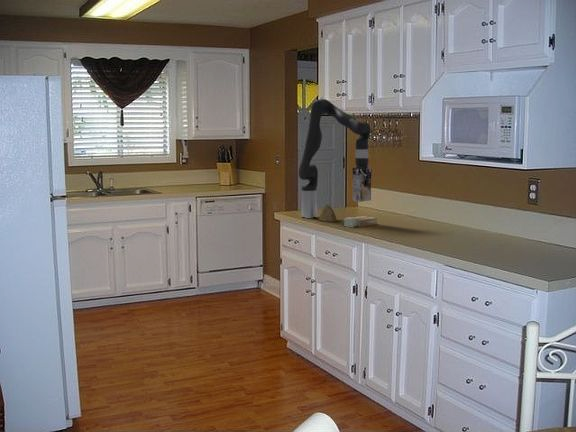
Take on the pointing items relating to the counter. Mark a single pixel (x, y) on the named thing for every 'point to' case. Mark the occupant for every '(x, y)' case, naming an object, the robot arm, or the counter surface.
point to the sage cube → (350, 222)
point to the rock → (327, 214)
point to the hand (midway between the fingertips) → (361, 185)
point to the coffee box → (361, 188)
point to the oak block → (365, 220)
